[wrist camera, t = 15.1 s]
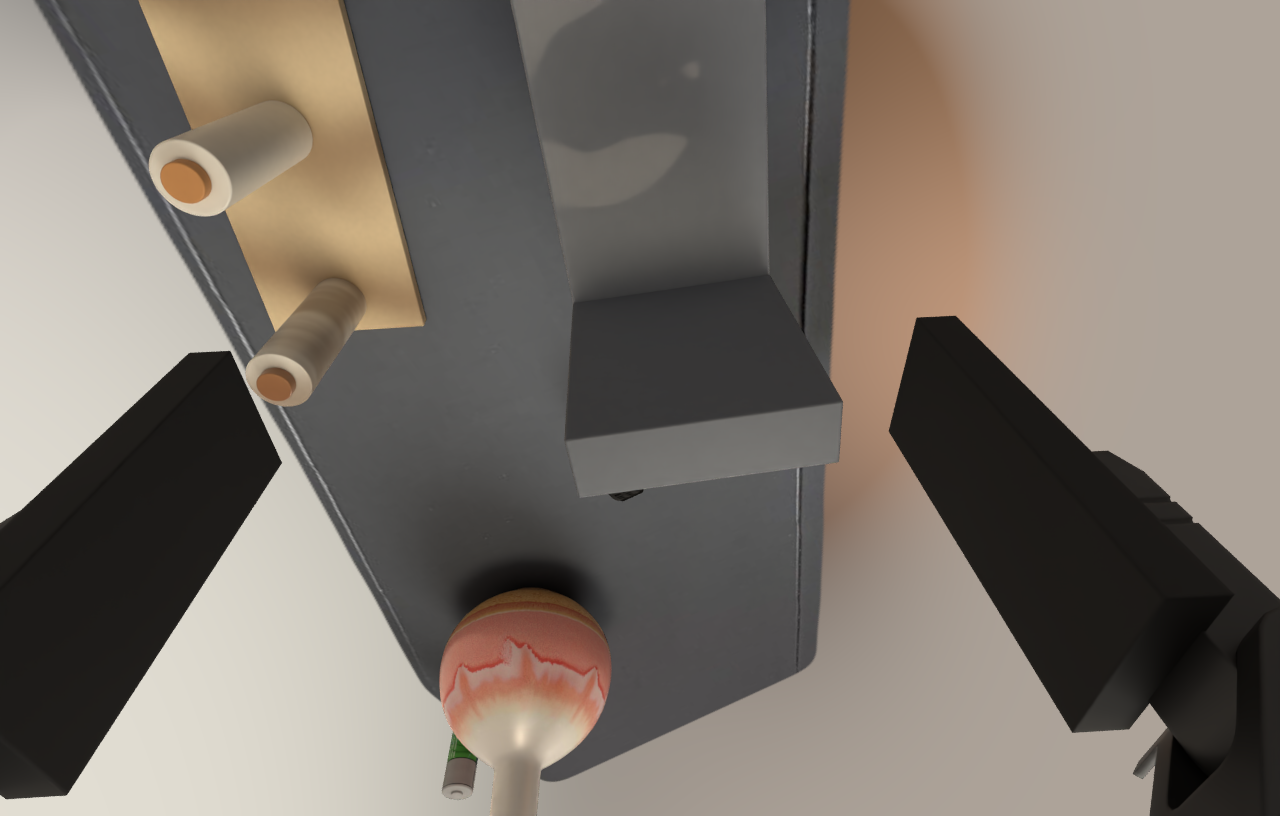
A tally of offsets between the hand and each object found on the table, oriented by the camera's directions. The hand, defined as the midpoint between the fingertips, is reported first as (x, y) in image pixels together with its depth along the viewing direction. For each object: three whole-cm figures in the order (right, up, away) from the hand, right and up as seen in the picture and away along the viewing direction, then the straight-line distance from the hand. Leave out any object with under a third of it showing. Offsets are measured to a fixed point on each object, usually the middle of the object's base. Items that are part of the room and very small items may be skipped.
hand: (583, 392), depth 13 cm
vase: (-8, -18, +44) cm, 48 cm away
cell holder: (-17, +14, +20) cm, 30 cm away
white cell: (-17, +14, +20) cm, 30 cm away
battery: (-15, -29, +50) cm, 60 cm away
